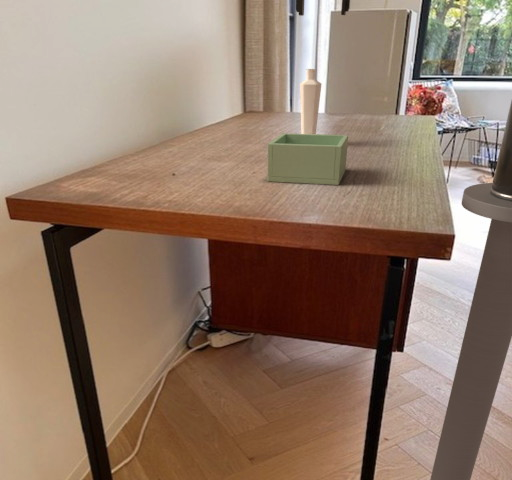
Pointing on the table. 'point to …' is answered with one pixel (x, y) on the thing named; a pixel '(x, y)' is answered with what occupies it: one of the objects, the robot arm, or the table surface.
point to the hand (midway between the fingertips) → (322, 15)
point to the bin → (307, 158)
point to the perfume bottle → (309, 102)
